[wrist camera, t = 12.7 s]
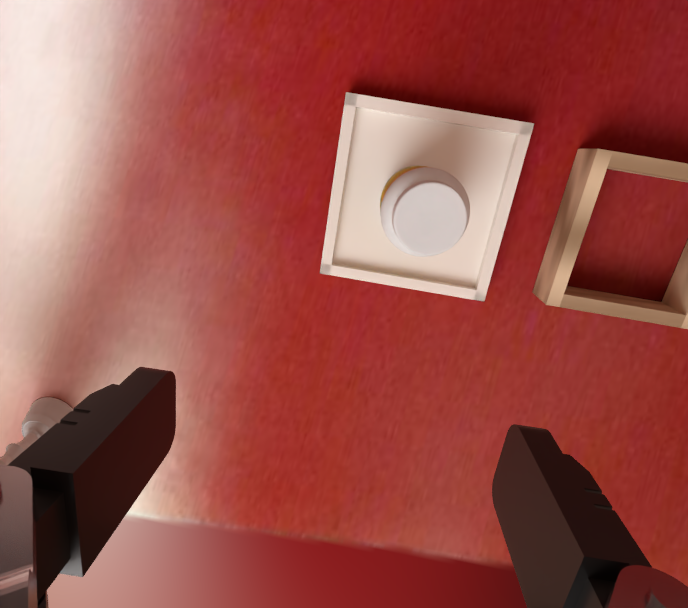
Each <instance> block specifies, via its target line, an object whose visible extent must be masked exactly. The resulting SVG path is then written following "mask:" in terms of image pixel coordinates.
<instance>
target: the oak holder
mask: <svg viewBox="0 0 688 608" xmlns="http://www.w3.org/2000/svg"><path fill="white" fill-rule="evenodd" d="M607 169H611V170H617V171H623V172H629V173H635V174H641V175H647V176H653V177H658V178H664V179H670V180H676V181H682V182H688V164H687V163H681V162H675V161H669V160H663V159H657V158H651V157H645V156H639V155H633V154H627V153H621V152H615V151H609V150H603V149H578V151H577V154H576V157H575V160H574V163H573V166H572V170H571V173H570V176H569V179H568V182H567V185H566V188H565V192H564V195H563V198H562V201H561V204H560V207H559V211H558V214H557V217H556V220H555V223H554V226H553V229H552V233H551V236H550V239H549V242H548V245H547V248H546V251H545V255H544V258H543V261H542V264H541V267H540V270H539V273H538V277H537V280H536V283H535V286H534V289H533V293H534V294H535V295H536V296H537V297H538V298H539V299H540V300H541V301H543V302H544V303H545V304H546V305H551V306H557V307H563V308H569V309H574V310H580V311H586V312H592V313H598V314H603V315H609V316H615V317H621V318H627V319H633V320H638V321H644V322H650V323H656V324H662V325H667V326H673V327H679V328H685V329H688V240H687V243H686V245H685V247H684V250H683V252H682V254H681V257H680V259H679V262H678V264H677V266H676V269H675V271H674V273H673V276H672V278H671V280H670V283H669V285H668V287H667V290H666V292H665V295H664V297H663V299H662V302H658V301H652V300H647V299H641V298H635V297H629V296H623V295H617V294H612V293H606V292H600V291H594V290H588V289H582V288H577V287H571V286H567V284H568V281H569V278H570V275H571V272H572V269H573V266H574V263H575V260H576V257H577V255H578V252H579V249H580V246H581V243H582V240H583V237H584V234H585V231H586V228H587V225H588V223H589V220H590V217H591V214H592V211H593V208H594V205H595V202H596V199H597V196H598V193H599V190H600V188H601V185H602V182H603V179H604V176H605V173H606V170H607Z"/></svg>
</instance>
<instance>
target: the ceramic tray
mask: <svg viewBox="0 0 688 608" xmlns="http://www.w3.org/2000/svg"><path fill="white" fill-rule="evenodd" d="M533 126H534V123H528V122H522V121H516V120H510V119H504V118H498V117H492V116H486V115H480V114H474V113H468V112H462V111H456V110H450V109H444V108H438V107H432V106H426V105H420V104H414V103H408V102H402V101H396V100H390V99H384V98H378V97H372V96H366V95H360V94H354V93H348V92H346V96H345V103H344V110H343V117H342V124H341V131H340V138H339V144H338V151H337V158H336V165H335V172H334V179H333V186H332V193H331V199H330V206H329V213H328V220H327V227H326V234H325V241H324V248H323V254H322V261H321V268H320V273H321V274H327V275H333V276H339V277H345V278H350V279H356V280H362V281H368V282H374V283H379V284H385V285H391V286H397V287H403V288H409V289H414V290H420V291H426V292H432V293H438V294H443V295H449V296H455V297H461V298H467V299H472V300H478V301H484V300H485V297H486V293H487V290H488V286H489V283H490V279H491V276H492V272H493V268H494V265H495V261H496V258H497V254H498V251H499V247H500V244H501V240H502V236H503V233H504V229H505V226H506V222H507V219H508V215H509V212H510V208H511V204H512V201H513V197H514V194H515V190H516V187H517V183H518V180H519V176H520V172H521V169H522V165H523V162H524V158H525V155H526V151H527V148H528V144H529V140H530V137H531V133H532V130H533ZM410 166H427V167H432V168H437V169H441V170H444V171H446V172H448V173H450V174H451V175H452V176H454V177H455V178H456V179H457V180H458V181H459V182H460V183H461V184H462V186H463V187H464V189H465V191H466V193H467V195H468V198H469V203H470V217H469V222H468V225H467V228H466V230H465V232H464V234H463V235H462V237H461V238H460V240H459V241H458V242H457V243H456V244H455V245H454V246H453V247H452V248H450V249H449V250H447V251H445V252H443V253H441V254H438V255H434V256H428V257H419V256H413V255H410V254H407V253H405V252H403V251H401V250H399V249H398V248H397V247H395V246H394V245H393V244H392V243H391V242H390V240H389V239H388V237H387V236H386V234H385V232H384V230H383V227H382V223H381V216H380V199H381V194H382V191H383V188H384V186H385V184H386V183H387V181H388V180H389V179H390V178H391V177H392V176H393V175H394V174H395V173H396V172H398V171H399V170H401V169H403V168H406V167H410Z"/></svg>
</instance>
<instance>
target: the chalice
mask: <svg viewBox="0 0 688 608" xmlns="http://www.w3.org/2000/svg"><path fill="white" fill-rule="evenodd" d="M70 411H73V409H72V408H71V407H70V406H69V405H68V404H67V403H65V402H63V401H61V400H59V399H56V398H52V397H43V398H40V399H37V400H36V401H35V402H34V403H32V405H31V407H30V409H29V411H28V413H27V415H26V417H25V419H24V420H23V423H22V434H23V437H24V439H23V440H22V441H20V442H18V443H17V444H9V445H8V446H7V447H6V453H5V454H4V456H2V457H0V466H7V465H8V464H9V463H11V462H12V461H13V460H14V459H15V458H16V457H18V456H19V455H20V454H21V453H22V452H23V451H25V450H26V449H27V448H28V447H29V446H30V445H32V444H33V443H34V442H35V441H36V440H37V439H39V438H40V437H41V436H42V435H43V434H44V433H46V432H47V431H48V430H49V429H50V428H51V427H53V426H54V425H55V424H56V423H60V420H61V419H62V418H63V417H64V416H65V415H67V414H68V413H69V412H70Z"/></svg>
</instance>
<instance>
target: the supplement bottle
mask: <svg viewBox="0 0 688 608" xmlns="http://www.w3.org/2000/svg"><path fill="white" fill-rule="evenodd" d="M380 216H381V223H382V227H383V230H384V232H385V234H386V236H387V237H388V239H389V240H390V242H391V243H392V244H393V245H394V246H395V247H397V248H398V249H399V250H401V251H403V252H405V253H407V254H410V255H413V256H419V257H428V256H434V255H438V254H441V253H443V252H445V251H447V250H449V249H450V248H452V247H453V246H454V245H455V244H456V243H457V242H458V241H459V240H460V238H461V237H462V235H463V234H464V232H465V230H466V228H467V225H468V222H469V217H470V203H469V198H468V195H467V193H466V191H465V189H464V187H463V186H462V184H461V183H460V182H459V181H458V180H457V179H456V178H455V177H454V176H452V175H451V174H450V173H448V172H446V171H444V170H441V169H437V168H432V167H427V166H410V167H406V168H403V169H401V170H399V171H398V172H396V173H395V174H394V175H393V176H392V177H391V178H390V179H389V180H388V181H387V183H386V184H385V186H384V188H383V191H382V194H381V199H380Z"/></svg>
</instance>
